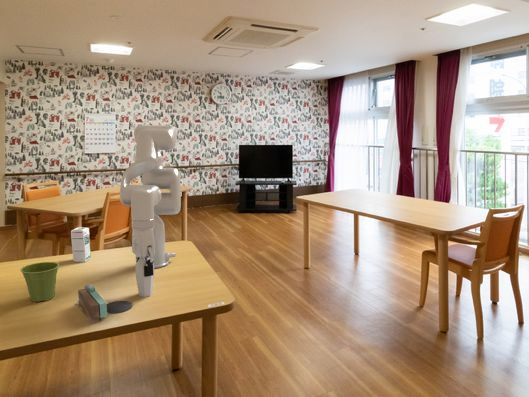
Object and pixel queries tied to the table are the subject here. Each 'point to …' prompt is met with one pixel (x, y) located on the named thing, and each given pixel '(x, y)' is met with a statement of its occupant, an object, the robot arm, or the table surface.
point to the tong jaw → (98, 301)
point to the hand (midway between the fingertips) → (144, 272)
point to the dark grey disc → (118, 306)
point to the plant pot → (40, 280)
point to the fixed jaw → (88, 304)
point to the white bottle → (143, 279)
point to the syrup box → (81, 244)
